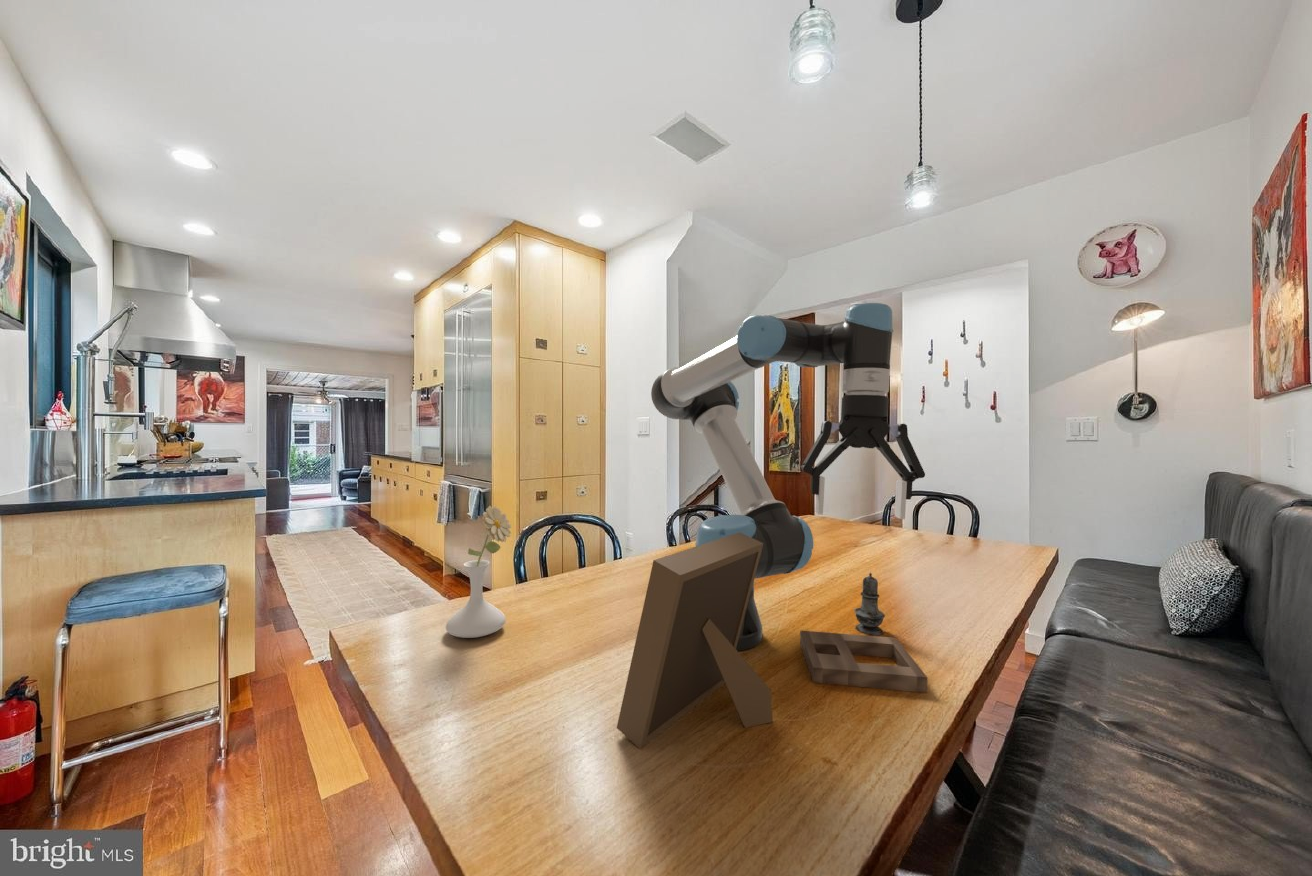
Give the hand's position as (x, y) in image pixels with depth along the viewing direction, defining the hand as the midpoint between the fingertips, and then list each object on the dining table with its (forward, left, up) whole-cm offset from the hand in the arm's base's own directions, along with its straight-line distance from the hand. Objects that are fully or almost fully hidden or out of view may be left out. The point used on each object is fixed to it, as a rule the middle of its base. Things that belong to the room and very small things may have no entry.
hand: (858, 515), depth 84 cm
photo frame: (-25, -21, -27) cm, 42 cm away
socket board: (0, 0, -27) cm, 27 cm away
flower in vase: (-72, +1, -27) cm, 77 cm away
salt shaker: (+7, +16, -27) cm, 32 cm away
